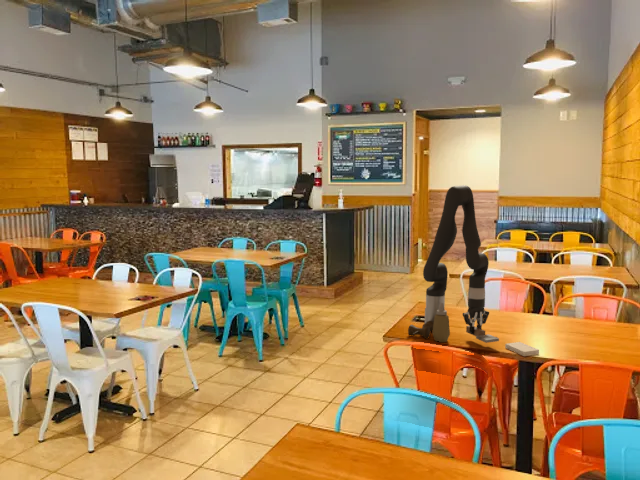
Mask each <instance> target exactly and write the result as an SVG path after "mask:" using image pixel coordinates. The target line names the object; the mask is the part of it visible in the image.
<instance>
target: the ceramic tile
mask: <svg viewBox="0 0 640 480" xmlns="http://www.w3.org/2000/svg"><path fill="white" fill-rule="evenodd" d="M504 344H505V346H504V348H505V349H507V350H509V351H511V352H513V351H514V353H515V354H518V355H520V356H523V357H528V356H535V355H539V354H540V349H538V348H536V347H533V346H531V345H528V344H526V343H524V342H521V341H517V342H509V343H504Z"/></svg>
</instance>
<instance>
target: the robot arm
mask: <svg viewBox="0 0 640 480" xmlns="http://www.w3.org/2000/svg"><path fill="white" fill-rule="evenodd" d="M443 204H444V205H443V208H442V213H441V216H440V221H439V224H438V227H437V230H436V233H435V235H434V236H435V237H434V241H433V244H432V246H431V250H430V253H429V255H428V257H427V259H426V261H425V264H424V267H423V271H422V275H423V279H424V280H425V281H426V282H427V283H433V284H432V285H430V286H429V287H427V288H426V289H425V290H426V291H425V292H426V294H425V308H424V324H425V323H426V322H428V321H431V322H433V323H434V317H435V315H436V314H437V310H439V308H440V304H441V303H443V304H444V308H445V307H446V306H445V304H446V303H445V302H446V291H447V287H448V286H447V285H448V274H449V273H448V267H447V265H446V264H445V263H443V262H441V260H442V258H443V257H444V256H445V255H446V254H447V253H448V251H450V249H451V248H452V247H453V245H454V243H455V239H456V237H457V234H458V226H457V222H456V214H457V212H458V208H459V207H460V206H461V207H462V210H463V211H462V212H463V222H462V227H461V234H462V238H463V242H464V245H465V261H466V265H467V267H468V268H469V269H471V270H473V272H472V273H471V274H470V275H469V279H468V280H469V281H468V291H467V292H468V293H467V307H468V309H467V311H466V312H463V313H462V316H463V319H464V323H465V324H466V325H467V326H470V330H469V331H470V333H471V334H470V335H472V334H474V328H475V327H477V328H479V329H482V326H483V325H484V324H486V323H487V320H488V318H489V315H490V311H487V310H485V307H486V276H487V272H488V271H489V258H488V256H487V255H486V253H482V252H481V253H480V252H479V248H481V246H482V241H481V238H480V235H479V231H478V230H479V229H478V226H477V220H476V210H475V201H474V194H473V190H472V188H471V187H470V186H468V185H464V184H463V185H455V186H451V187H449V188H448V189H447V192H446V194H445V198H444V203H443ZM475 323H476V326H475ZM482 330H483V329H482Z"/></svg>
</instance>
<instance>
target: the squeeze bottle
mask: <svg viewBox="0 0 640 480" xmlns="http://www.w3.org/2000/svg"><path fill="white" fill-rule="evenodd" d="M447 311H448V310H447V309H445V307H444V304H443V303H441V304H440V308H439V310H437V314H436V315H435V317H434V324H433V331H431V332H432V336H433V340H434V341H435V342H437V341H439V342H438V343H447V342H448V340H449V337H450V335H451V332H450V331H451V330H450V317H449V315H448V312H447Z"/></svg>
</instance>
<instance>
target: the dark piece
mask: <svg viewBox="0 0 640 480" xmlns="http://www.w3.org/2000/svg"><path fill="white" fill-rule="evenodd" d="M465 330H466V333H467V334H470V335H472V336H474V337H475V339H477V340H479V341H481V342H483V343H485V344H487V343H494V342H495V343H496V342H499V341H500V338H499V337H496V336H494V335H492V334H489V333H488V334H486V330H484V329H479V328H477V326H475V328H474V334H471V333H470V331H469V330H470V326H469V325H466V328H465Z"/></svg>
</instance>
